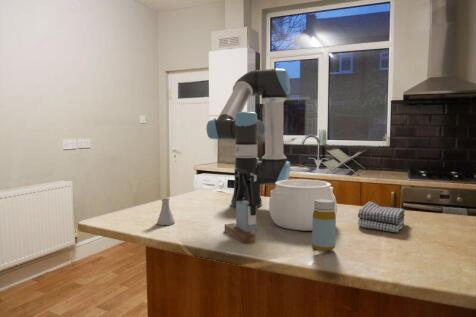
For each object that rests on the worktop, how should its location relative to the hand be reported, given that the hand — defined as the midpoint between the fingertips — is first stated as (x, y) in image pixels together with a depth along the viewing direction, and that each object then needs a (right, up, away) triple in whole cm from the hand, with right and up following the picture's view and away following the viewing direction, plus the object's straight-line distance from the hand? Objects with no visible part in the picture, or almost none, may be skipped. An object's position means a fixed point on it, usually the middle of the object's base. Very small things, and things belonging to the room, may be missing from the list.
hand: (245, 221), depth 117 cm
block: (-2, -5, -1) cm, 6 cm away
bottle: (+24, -6, -12) cm, 28 cm away
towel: (+54, -5, +14) cm, 56 cm away
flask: (-32, -4, +16) cm, 36 cm away
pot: (+23, -4, +16) cm, 28 cm away
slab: (0, -2, 0) cm, 3 cm away
